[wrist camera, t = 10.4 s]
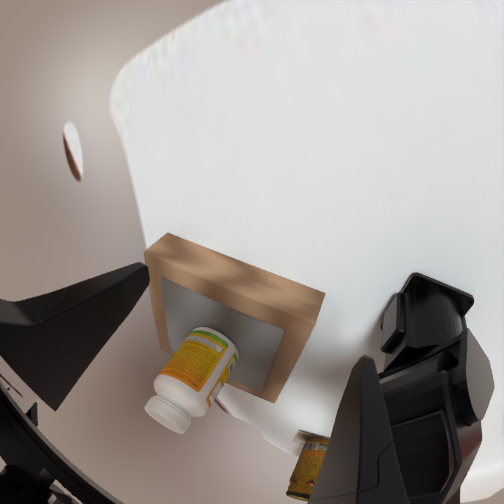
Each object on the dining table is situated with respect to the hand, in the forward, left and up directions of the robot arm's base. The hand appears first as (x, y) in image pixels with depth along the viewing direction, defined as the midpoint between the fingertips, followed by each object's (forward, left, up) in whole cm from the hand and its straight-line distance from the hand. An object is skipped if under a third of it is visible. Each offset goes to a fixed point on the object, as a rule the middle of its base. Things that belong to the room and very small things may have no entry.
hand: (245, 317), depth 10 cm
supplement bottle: (+5, +16, -8) cm, 19 cm away
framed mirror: (+5, +16, -12) cm, 21 cm away
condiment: (-14, +42, -12) cm, 46 cm away
